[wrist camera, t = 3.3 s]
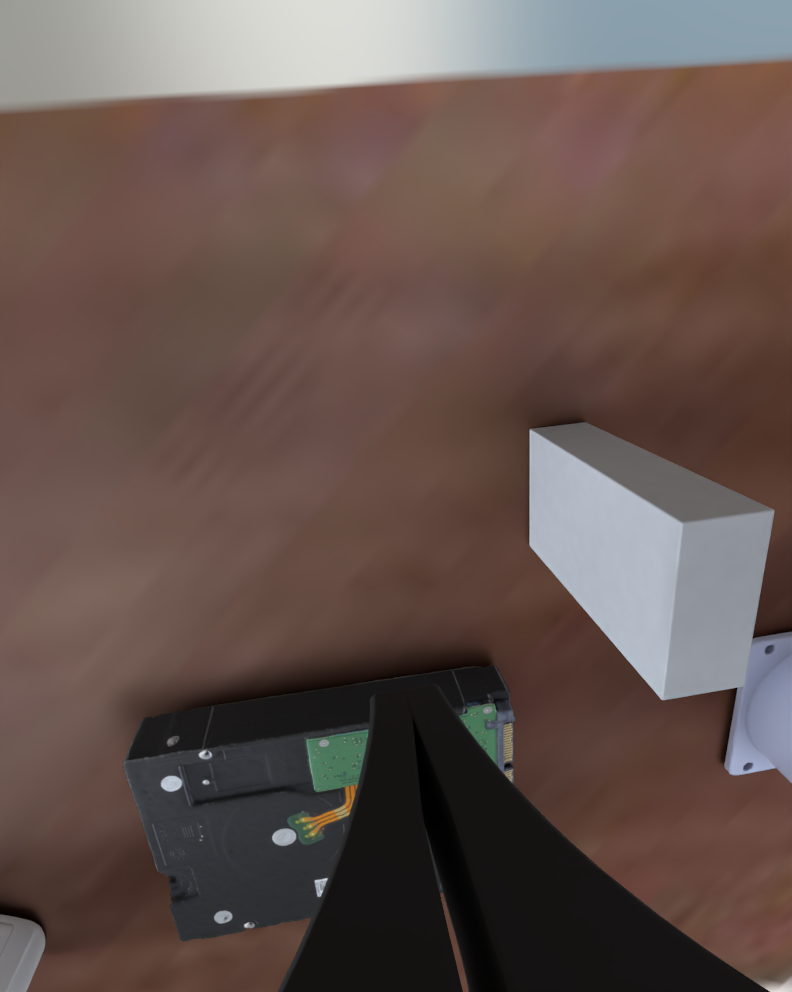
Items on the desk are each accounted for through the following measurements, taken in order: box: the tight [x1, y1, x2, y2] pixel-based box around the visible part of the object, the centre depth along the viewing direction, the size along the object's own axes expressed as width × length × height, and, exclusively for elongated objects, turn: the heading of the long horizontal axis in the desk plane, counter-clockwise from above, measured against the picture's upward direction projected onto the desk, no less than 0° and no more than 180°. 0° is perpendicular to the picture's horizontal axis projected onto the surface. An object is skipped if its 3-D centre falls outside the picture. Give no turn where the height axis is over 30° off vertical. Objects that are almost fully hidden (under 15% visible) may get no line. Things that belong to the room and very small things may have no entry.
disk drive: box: [123, 666, 515, 942], centre depth 23 cm, size 10×3×15 cm
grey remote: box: [529, 422, 775, 700], centre depth 17 cm, size 2×5×9 cm, turn 5°
